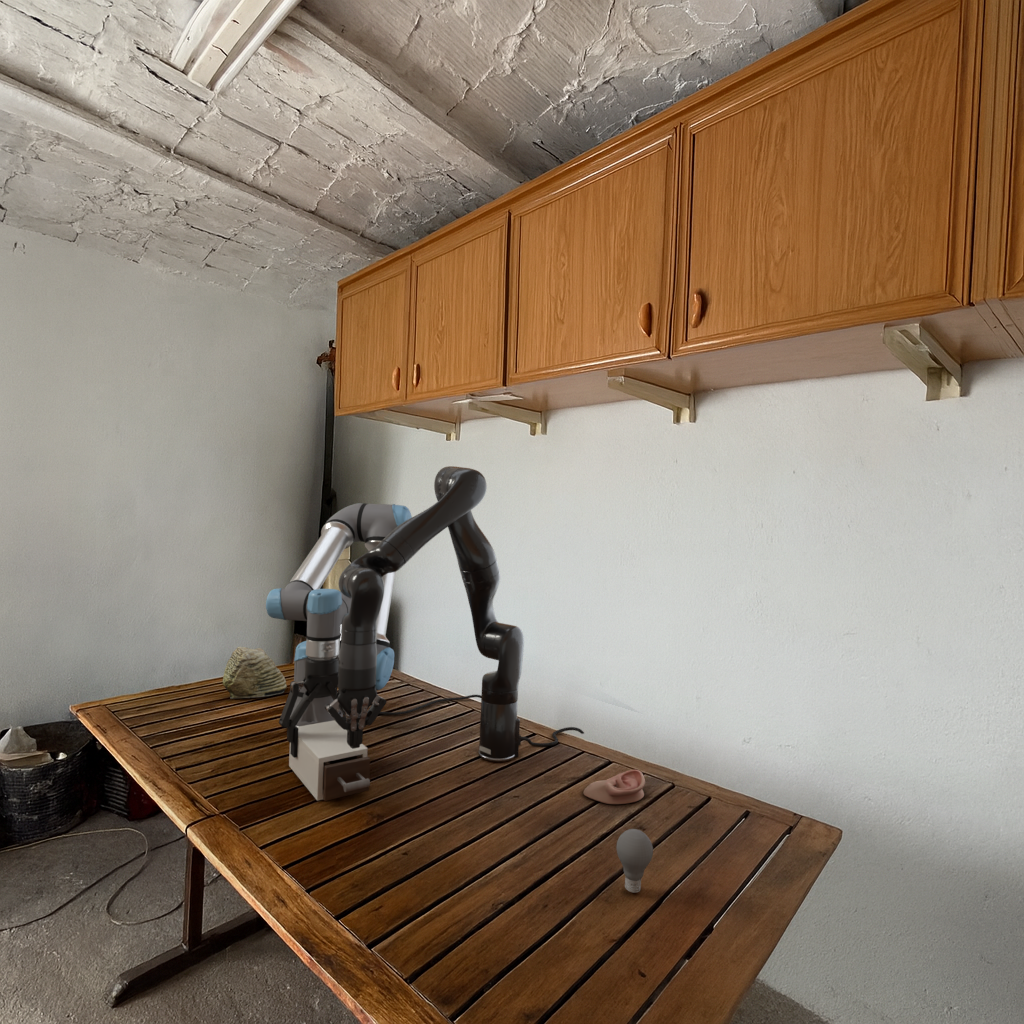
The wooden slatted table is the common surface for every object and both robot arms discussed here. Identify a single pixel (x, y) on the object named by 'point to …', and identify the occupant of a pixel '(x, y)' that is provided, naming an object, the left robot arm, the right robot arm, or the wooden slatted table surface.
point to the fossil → (252, 674)
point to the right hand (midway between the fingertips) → (354, 746)
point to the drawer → (345, 777)
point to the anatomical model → (618, 788)
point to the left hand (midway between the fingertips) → (318, 750)
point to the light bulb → (634, 857)
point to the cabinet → (320, 753)
